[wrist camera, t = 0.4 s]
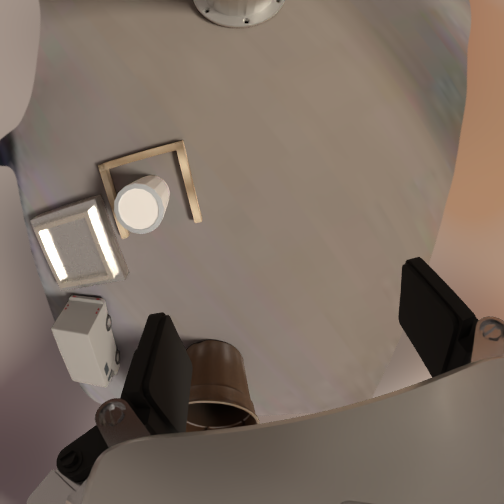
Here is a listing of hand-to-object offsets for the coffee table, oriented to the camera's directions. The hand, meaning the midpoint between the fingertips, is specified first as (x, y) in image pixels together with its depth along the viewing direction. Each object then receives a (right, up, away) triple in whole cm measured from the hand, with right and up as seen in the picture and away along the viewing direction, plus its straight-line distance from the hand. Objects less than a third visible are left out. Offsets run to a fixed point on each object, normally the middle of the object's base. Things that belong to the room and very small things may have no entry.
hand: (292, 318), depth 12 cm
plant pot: (-9, -19, +48) cm, 52 cm away
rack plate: (-30, +4, +34) cm, 46 cm away
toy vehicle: (-32, -13, +43) cm, 56 cm away
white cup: (-16, +11, +32) cm, 37 cm away
